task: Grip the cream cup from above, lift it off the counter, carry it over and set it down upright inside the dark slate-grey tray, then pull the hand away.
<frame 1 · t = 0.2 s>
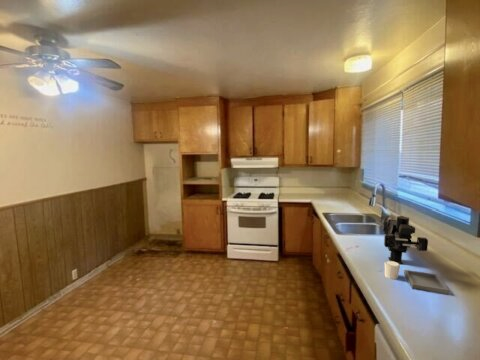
hand: (409, 248, 131), 17 cm above the counter, tool horizontal, fingers open, 9 cm apart
tray: (424, 283, 132), on the counter
cream cup: (390, 276, 138), on the counter
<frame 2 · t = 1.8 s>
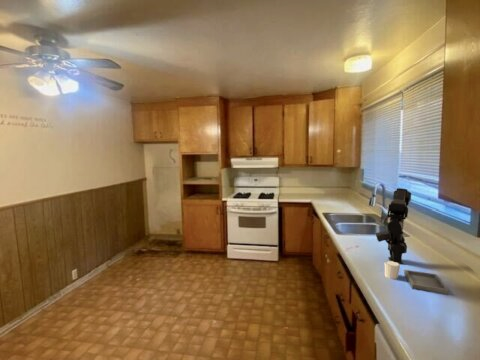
hand: (392, 258, 137), 9 cm above the counter, tool pointing down, fingers open, 9 cm apart
nothing on the counter moved.
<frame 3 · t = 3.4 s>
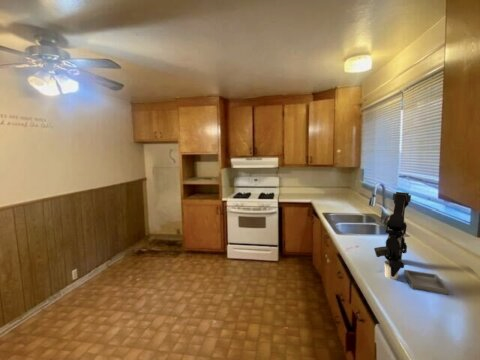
hand: (391, 273, 138), 2 cm above the counter, tool pointing down, fingers closed on cream cup, 6 cm apart
cream cup: (390, 276, 138), on the counter, touching gripper
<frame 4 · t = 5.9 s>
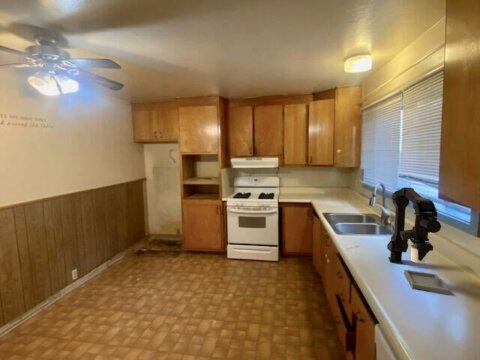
hand: (418, 257, 132), 12 cm above the counter, tool pointing down, fingers closed on cream cup, 6 cm apart
cream cup: (417, 261, 132), point 10 cm above the counter, touching gripper
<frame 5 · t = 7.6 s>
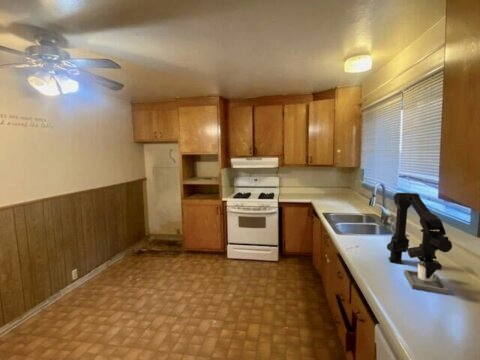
hand: (425, 275, 131), 4 cm above the counter, tool pointing down, fingers closed on cream cup, 6 cm apart
cream cup: (424, 278, 132), point 2 cm above the counter, touching gripper
when the fingers open (3 cm above the counter, at t = 8.7 s): cream cup drops 1 cm, resting on tray.
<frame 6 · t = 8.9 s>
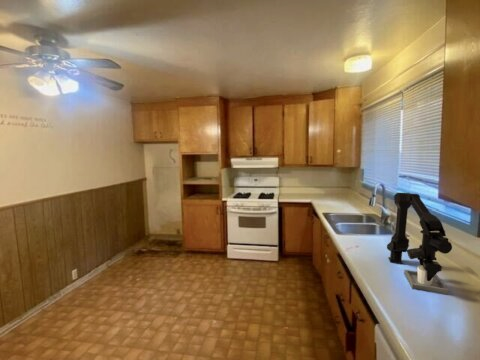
hand: (425, 276, 131), 3 cm above the counter, tool pointing down, fingers open, 9 cm apart
cream cup: (424, 282, 132), resting on tray
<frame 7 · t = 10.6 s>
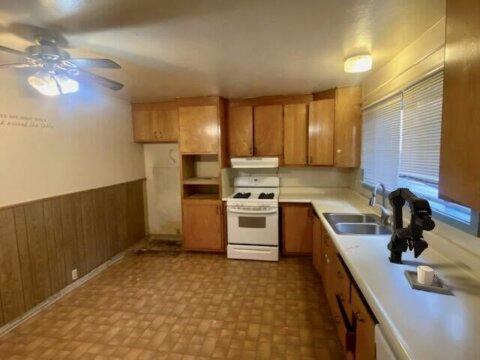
hand: (413, 254, 137), 12 cm above the counter, tool pointing down, fingers open, 9 cm apart
nothing on the counter moved.
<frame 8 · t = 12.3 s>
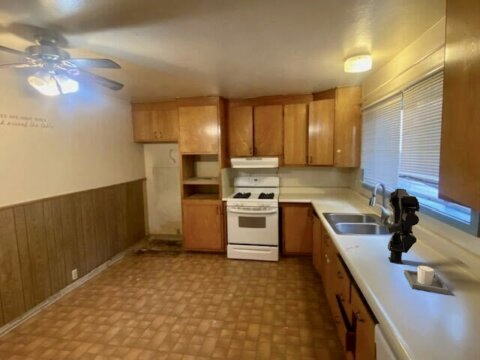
hand: (403, 249, 142), 12 cm above the counter, tool pointing down, fingers open, 9 cm apart
nothing on the counter moved.
at the end: cream cup inside the target area on the tray (0.1 cm from its centre), point 0.4 cm above the tray's base; cream cup tilted 0°; the gripper is holding nothing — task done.
